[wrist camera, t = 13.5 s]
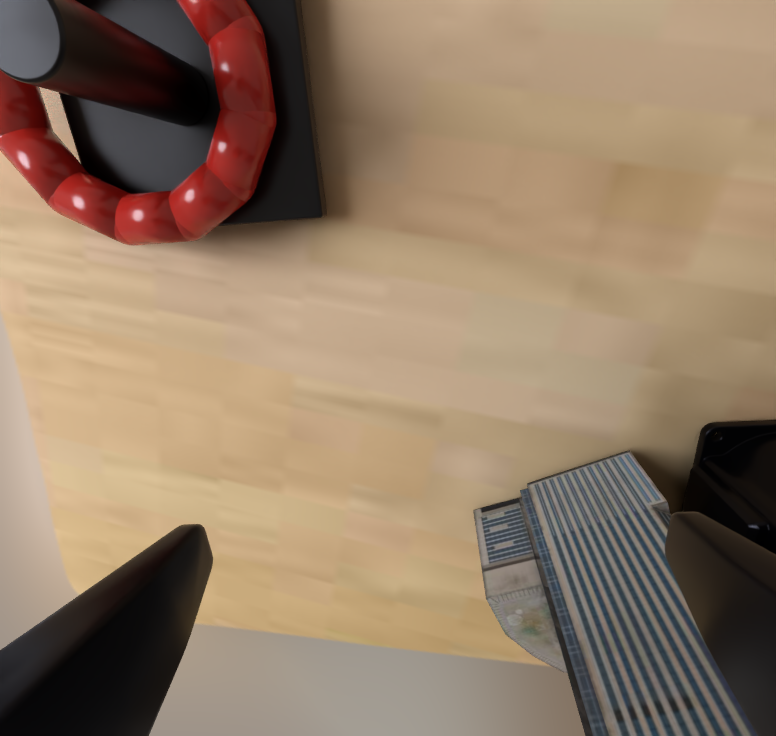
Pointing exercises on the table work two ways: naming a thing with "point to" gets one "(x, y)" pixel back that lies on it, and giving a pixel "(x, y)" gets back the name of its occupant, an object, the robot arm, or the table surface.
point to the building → (605, 602)
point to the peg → (164, 94)
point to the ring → (200, 189)
